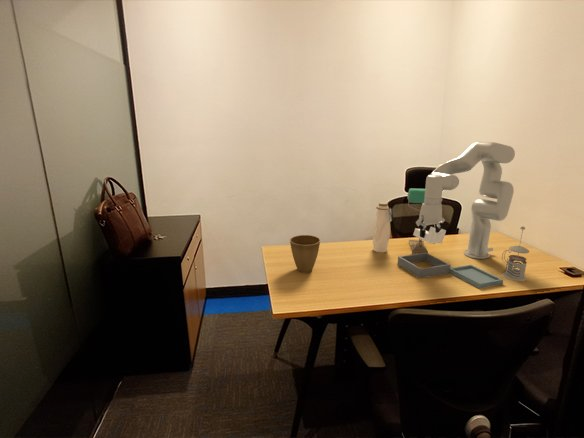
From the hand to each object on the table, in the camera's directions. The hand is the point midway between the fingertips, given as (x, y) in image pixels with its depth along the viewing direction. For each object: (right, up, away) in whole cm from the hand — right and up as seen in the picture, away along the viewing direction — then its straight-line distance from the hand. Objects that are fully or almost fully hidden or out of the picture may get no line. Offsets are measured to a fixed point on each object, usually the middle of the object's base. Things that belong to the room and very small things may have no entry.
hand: (429, 236), depth 169 cm
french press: (+39, -19, -3) cm, 43 cm away
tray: (+19, -20, -6) cm, 28 cm away
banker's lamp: (+7, -9, +35) cm, 37 cm away
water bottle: (-16, -10, +31) cm, 36 cm away
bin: (-1, -17, +5) cm, 18 cm away
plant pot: (-61, -17, +4) cm, 64 cm away
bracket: (0, -2, +1) cm, 2 cm away
